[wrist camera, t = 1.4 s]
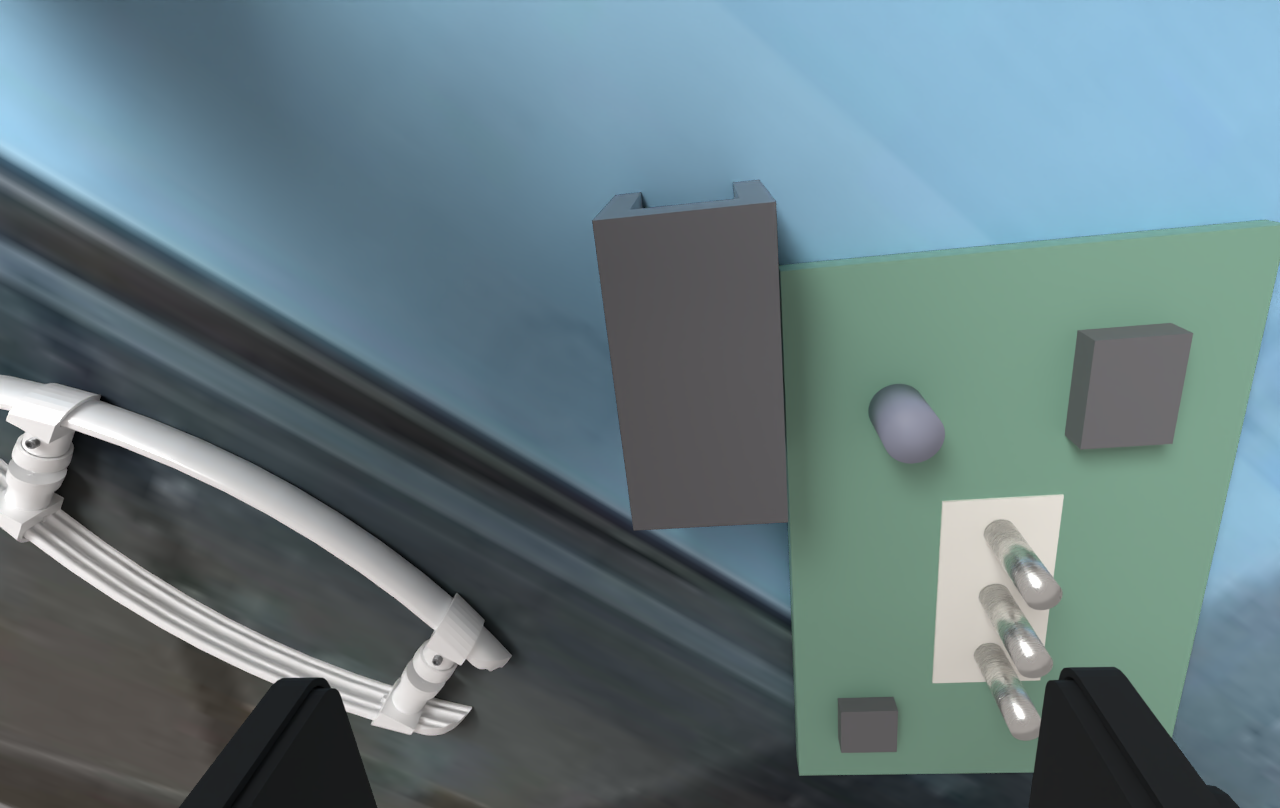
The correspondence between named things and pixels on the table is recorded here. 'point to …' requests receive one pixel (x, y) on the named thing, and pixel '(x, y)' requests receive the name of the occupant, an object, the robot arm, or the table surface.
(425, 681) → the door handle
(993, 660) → the pins
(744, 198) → the block
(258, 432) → the table surface
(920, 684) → the board
